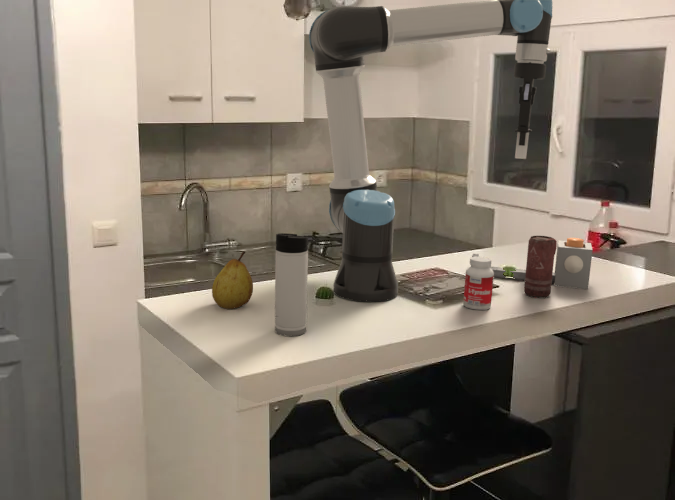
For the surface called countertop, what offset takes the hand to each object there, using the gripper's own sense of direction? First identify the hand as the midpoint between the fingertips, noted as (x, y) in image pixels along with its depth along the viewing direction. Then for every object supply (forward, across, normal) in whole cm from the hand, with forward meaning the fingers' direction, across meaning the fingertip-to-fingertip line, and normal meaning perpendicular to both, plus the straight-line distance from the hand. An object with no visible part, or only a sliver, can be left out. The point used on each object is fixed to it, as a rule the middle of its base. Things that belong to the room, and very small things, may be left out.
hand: (520, 158), depth 185 cm
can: (+31, -17, -8) cm, 36 cm away
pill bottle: (+31, -32, +5) cm, 44 cm away
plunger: (+25, -3, -16) cm, 30 cm away
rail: (+30, -3, -2) cm, 31 cm away
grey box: (+30, -3, -16) cm, 34 cm away
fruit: (+32, -52, +55) cm, 82 cm away
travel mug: (+32, -62, +38) cm, 80 cm away
